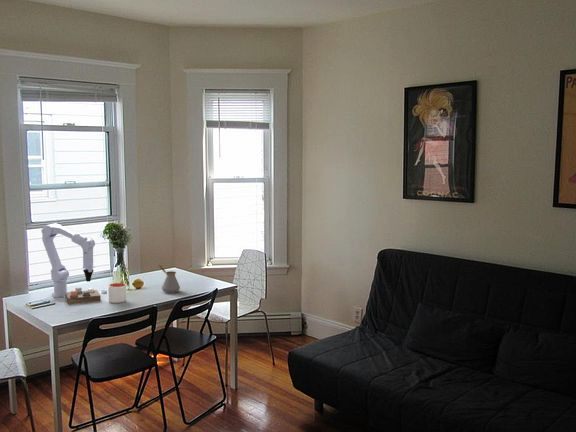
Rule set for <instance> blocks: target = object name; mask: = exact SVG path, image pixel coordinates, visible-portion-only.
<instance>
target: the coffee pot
mask: <svg viewBox="0 0 576 432" xmlns="http://www.w3.org/2000/svg"><path fill="white" fill-rule="evenodd" d="M157 268H160V269H161V271H162V272H163V273H165V275H166V277H165V279H164V281H163V284H162V285H161V289H162V291H163V292H164V293H165V292H166V293H165V294H176V293H177V292H179V290H180V288H181V286H180V284H179V282H178V278H177V277H176V273H177V271H172V270H171V271H167V270H165V269H164V268H163V267H162V265H161V264H158V266H157ZM175 292H176V293H175Z"/></svg>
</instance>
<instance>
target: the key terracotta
mask: <svg viewBox="0 0 576 432" xmlns="http://www.w3.org/2000/svg"><path fill="white" fill-rule="evenodd" d="M70 292H71V298H73V297H77V291H75V290H71V291H70Z"/></svg>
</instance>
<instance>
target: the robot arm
mask: <svg viewBox="0 0 576 432" xmlns="http://www.w3.org/2000/svg"><path fill="white" fill-rule="evenodd" d="M41 233H42V234H41V235H42V237H41V238H42V239H41V240H42V243H43V246H44V248H45V251H46V254H47V257H48V259H49V262H50V265H51V270H50V275H51V276H50V278H51V280H52V281H53V292H52V295H53V297H54V298H61V297H62V298H63V297H65V293H66V292H68V289H67V287H68V286H67V283H68V282H67V280H68V278H69V277H70V272H69V271H68V270H67V268H66V266H65V265H64V264H62V262H61V259H60V257H59V254H58V250H57V248H56V245H55V243H54V239H55V238H56V236H57V235H58V234H59V235H62V236H64V237H67V238H68V239H71V242H72V243H74V244H76V245H78V246H80V247H81V249H82V271H83V273H84V277H85V280H86V281H85V282H91V281H92V276H93V273H94V268H96V265H94V247H95V246H96V242H95V240H94V239H92V238H88V237H87V236H83V235H82V234H81V233H80V232H77V233H76V232H75V233H74V232H72V231H70V230H69V229H67V228H65V227H64V226H62V224H59V223H58V222H57V223H51V224H46V225H44V226H43V227H42V229H41Z"/></svg>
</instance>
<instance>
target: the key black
mask: <svg viewBox="0 0 576 432" xmlns="http://www.w3.org/2000/svg"><path fill="white" fill-rule="evenodd" d="M84 291H85V292H83V297H84V296H90V294H89V291H88V290H84Z"/></svg>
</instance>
